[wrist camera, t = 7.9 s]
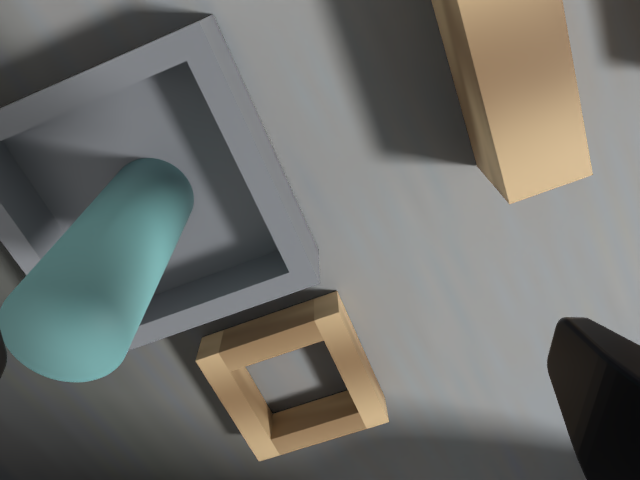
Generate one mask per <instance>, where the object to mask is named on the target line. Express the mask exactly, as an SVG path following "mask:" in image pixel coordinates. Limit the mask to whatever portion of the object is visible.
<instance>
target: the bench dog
mask: <svg viewBox="0 0 640 480" xmlns="http://www.w3.org/2000/svg"><path fill="white" fill-rule="evenodd" d="M431 1H432V5H433V8H434V12H435V16H436V19H437V23H438V26H439V30H440V34H441V37H442V41H443V45H444V48H445V52H446V55H447V59H448V63H449V66H450V70H451V74H452V77H453V81H454V84H455V88H456V92H457V95H458V99H459V103H460V106H461V110H462V113H463V117H464V121H465V124H466V128H467V132H468V135H469V139H470V142H471V146H472V150H473V153H474V157H475V161H476V164H477V167H478V168H479V169H480V170H481V171H482V173H483V174H484V175H485V176H486V177H487V178H488V180H489V181H490V182H491V183H492V184H493V185H494V187H495V188H496V189H497V190H498V191H499V192H500V194H501V195H502V196H503V197H504V198H505V200H506V201H507V202H508V203H509V204H512V203H514V202H517V201H520V200H523V199H526V198H529V197H531V196H534V195H537V194H540V193H543V192H546V191H548V190H551V189H554V188H557V187H560V186H563V185H565V184H568V183H571V182H574V181H577V180H580V179H582V178H585V177H588V176H591V175H593V173H592V167H591V161H590V156H589V150H588V144H587V138H586V133H585V127H584V121H583V116H582V110H581V104H580V99H579V93H578V87H577V81H576V76H575V70H574V64H573V59H572V53H571V47H570V41H569V36H568V30H567V24H566V19H565V13H564V7H563V2H562V0H431Z"/></svg>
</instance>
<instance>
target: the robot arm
mask: <svg viewBox="0 0 640 480" xmlns="http://www.w3.org/2000/svg"><path fill="white" fill-rule="evenodd" d="M6 363H7V351H6V347H5V344H4V340H3V337H2V333H1V330H0V378H1V376H2V374H3V372H4V369H5V367H6ZM547 368H548V373H549V376H550V379H551V382H552V385H553V388H554V391H555V394H556V397H557V400H558V403H559V406H560V409H561V412H562V415H563V418H564V421H565V424H566V427H567V430H568V433H569V436H570V439H571V442H572V445H573V448H574V451H575V453H576V456H577V459H578V461H579V463H580V466H581V468H582V470H583V472H584V475H585V477H586V479H587V480H640V345H638V344H636V343H634V342H632V341H630V340H628V339H626V338H625V337H623V336H621V335H619V334H617V333H615V332H613V331H611V330H609V329H607V328H606V327H604V326H602V325H600V324H598V323H596V322H594V321H592V320H590V319H588V318H584V317H564V318H562V319H560V320H559V321H558V323H557V325H556V328H555V332H554V336H553V340H552V343H551V347H550V351H549V355H548V360H547Z"/></svg>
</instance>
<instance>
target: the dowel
mask: <svg viewBox="0 0 640 480" xmlns="http://www.w3.org/2000/svg"><path fill="white" fill-rule="evenodd" d="M193 204H194V195H193V190H192V187H191V185H190V182H189V181H188V179H187V178H186V176H185V175H184V174H183V173H182V172H181V171H180V170H179V169H178V168H177V167H175V166H174V165H172V164H170V163H168V162H166V161H163V160H160V159H155V158H142V159H138V160H135V161H132V162H130V163H128V164H127V165H125V166H124V167H123V168H122V169H121V170H120V171H119V172H118V173H117V175H116V176H115V177H114V178H113V179H112V180H111V181H110V182H109V184H108V185H107V186H106V187H105V188H104V189H103V190H102V191H101V193H100V194H99V195H98V196H97V197H96V198H95V199H94V200H93V202H92V203H91V204H90V205H89V206H88V207H87V208H86V209H85V211H84V212H83V213H82V214H81V215H80V216H79V217H78V218H77V219H76V221H75V222H74V223H73V224H72V225H71V226H70V227H69V228H68V230H67V231H66V232H65V233H64V234H63V235H62V236H61V237H60V239H59V240H58V241H57V242H56V243H55V244H54V245H53V246H52V248H51V249H50V250H49V251H48V252H47V253H46V254H45V255H44V257H43V258H42V259H41V260H40V261H39V262H38V263H37V264H36V265H35V267H34V268H33V269H32V270H31V271H30V272H29V273H28V274H27V276H26V277H25V278H24V279H23V280H22V281H21V282H20V283H19V285H18V286H17V287H16V288H15V289H14V290H13V291H12V292H11V294H10V295H9V296H8V297H7V298H6V300H5V301H4V303H3V305H2V307H1V310H0V330H1V333H2V337H3V340H4V343H5V345H6V346H7V348H8V349H9V351H10V352H11V353H12V354H13V355H14V356H15V358H16V359H18V360H19V361H20V362H21V363H22V364H23V365H25V366H26V367H28V368H29V369H31V370H33V371H34V372H36V373H38V374H41V375H43V376H45V377H48V378H51V379H55V380H59V381H66V382H86V381H92V380H96V379H99V378H101V377H104V376H106V375H108V374H109V373H111V372H112V371H114V370H115V369H116V368H117V367H118V366H119V365H120V364H121V363H122V361H123V360H124V358H125V356H126V354H127V351H128V349H129V347H130V345H131V343H132V340H133V338H134V336H135V334H136V332H137V330H138V327H139V325H140V323H141V321H142V319H143V316H144V314H145V312H146V310H147V308H148V306H149V303H150V301H151V299H152V297H153V295H154V292H155V290H156V288H157V286H158V284H159V281H160V279H161V277H162V275H163V273H164V271H165V268H166V266H167V264H168V262H169V260H170V257H171V255H172V253H173V251H174V249H175V247H176V244H177V242H178V240H179V238H180V236H181V233H182V231H183V229H184V227H185V225H186V223H187V220H188V218H189V216H190V214H191V212H192V209H193Z"/></svg>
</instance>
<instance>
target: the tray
mask: <svg viewBox="0 0 640 480" xmlns="http://www.w3.org/2000/svg"><path fill="white" fill-rule="evenodd" d="M142 158H155V159H160V160H163V161H166V162H168V163H170V164H172V165H174V166H175V167H177V168H178V169H179V170H180V171H181V172H182V173H183V174H184V175H185V176H186V178H187V179H188V181H189V182H190V185H191V187H192V190H193V195H194V204H193V209H192V212H191V214H190V216H189V218H188V220H187V223H186V225H185V227H184V229H183V231H182V233H181V236H180V238H179V240H178V242H177V244H176V247H175V249H174V251H173V253H172V255H171V257H170V260H169V262H168V264H167V266H166V268H165V271H164V273H163V275H162V277H161V279H160V281H159V284H158V286H157V288H156V290H155V292H154V295H153V297H152V299H151V301H150V303H149V306H148V308H147V310H146V312H145V314H144V316H143V319H142V321H141V323H140V325H139V327H138V330H137V332H136V334H135V336H134V338H133V340H132V343H131V345H130V347H129V349H128V351H129V350H131V349H134V348H137V347H140V346H143V345H146V344H149V343H151V342H154V341H157V340H160V339H163V338H166V337H169V336H172V335H174V334H177V333H180V332H183V331H186V330H189V329H192V328H194V327H197V326H200V325H203V324H206V323H209V322H212V321H214V320H217V319H220V318H223V317H226V316H229V315H232V314H234V313H237V312H240V311H243V310H246V309H249V308H252V307H254V306H257V305H260V304H263V303H266V302H269V301H272V300H275V299H277V298H280V297H283V296H286V295H289V294H292V293H295V292H297V291H300V290H303V289H306V288H309V287H312V286H315V285H317V284H320V270H319V249H318V247H317V245H316V243H315V240H314V238H313V236H312V234H311V232H310V229H309V227H308V225H307V223H306V220H305V218H304V216H303V214H302V211H301V209H300V207H299V205H298V203H297V200H296V198H295V196H294V194H293V191H292V189H291V187H290V185H289V182H288V180H287V178H286V176H285V173H284V171H283V169H282V167H281V165H280V162H279V160H278V158H277V156H276V153H275V151H274V149H273V147H272V144H271V142H270V140H269V138H268V136H267V133H266V131H265V129H264V127H263V124H262V122H261V120H260V118H259V115H258V113H257V111H256V109H255V106H254V104H253V102H252V100H251V98H250V95H249V93H248V91H247V89H246V86H245V84H244V82H243V80H242V77H241V75H240V73H239V71H238V69H237V66H236V64H235V62H234V60H233V57H232V55H231V53H230V51H229V48H228V46H227V44H226V42H225V40H224V37H223V35H222V33H221V31H220V28H219V26H218V24H217V22H216V19H215V17H214V15H213V14H212V15H210V16H208V17H206V18H203V19H201V20H199V21H196V22H194V23H192V24H190V25H187V26H185V27H183V28H181V29H178V30H176V31H174V32H171V33H169V34H167V35H165V36H162V37H160V38H158V39H156V40H153V41H151V42H149V43H147V44H144V45H142V46H140V47H137V48H135V49H133V50H131V51H128V52H126V53H124V54H122V55H119V56H117V57H115V58H112V59H110V60H108V61H106V62H103V63H101V64H99V65H97V66H94V67H92V68H90V69H88V70H85V71H83V72H81V73H78V74H76V75H74V76H72V77H69V78H67V79H65V80H63V81H60V82H58V83H56V84H53V85H51V86H49V87H47V88H44V89H42V90H40V91H38V92H35V93H33V94H31V95H29V96H26V97H24V98H22V99H19V100H17V101H15V102H13V103H10V104H8V105H6V106H4V107H1V108H0V241H1V242H2V243H3V245H4V246H5V247H6V249H7V250H8V251H9V253H10V254H11V255H12V257H13V258H14V259H15V261H16V262H17V263H18V265H19V266H20V268H21V269H22V270H23V272H24V273H25V274H26V276H27V274H28V273H29V272H30V271H31V270H32V269H33V268H34V267H35V265H36V264H37V263H38V262H39V261H40V260H41V259H42V258H43V257H44V255H45V254H46V253H47V252H48V251H49V250H50V249H51V248H52V246H53V245H54V244H55V243H56V242H57V241H58V240H59V239H60V237H61V236H62V235H63V234H64V233H65V232H66V231H67V230H68V228H69V227H70V226H71V225H72V224H73V223H74V222H75V221H76V219H77V218H78V217H79V216H80V215H81V214H82V213H83V212H84V211H85V209H86V208H87V207H88V206H89V205H90V204H91V203H92V202H93V200H94V199H95V198H96V197H97V196H98V195H99V194H100V193H101V191H102V190H103V189H104V188H105V187H106V186H107V185H108V184H109V182H110V181H111V180H112V179H113V178H114V177H115V176H116V175H117V173H118V172H119V171H120V170H121V169H122V168H123V167H124V166H125V165H127V164H128V163H130V162H132V161H135V160H138V159H142Z"/></svg>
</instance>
